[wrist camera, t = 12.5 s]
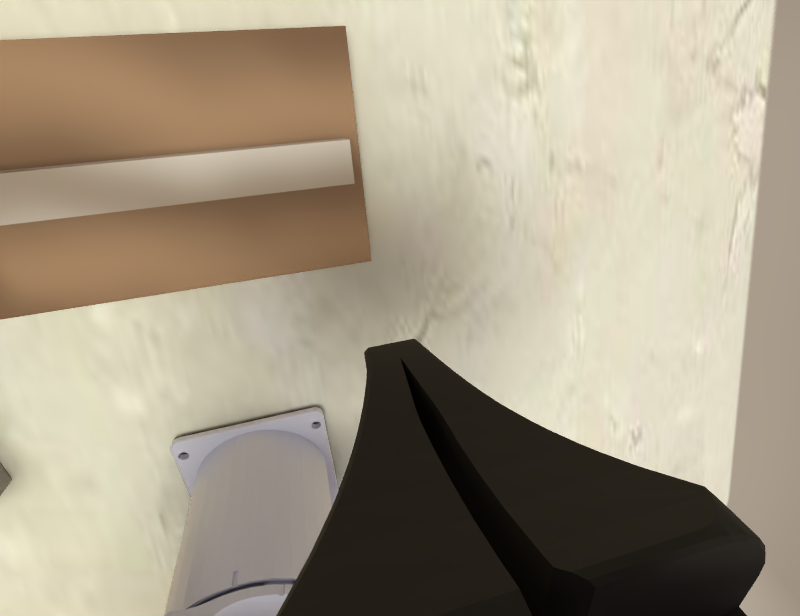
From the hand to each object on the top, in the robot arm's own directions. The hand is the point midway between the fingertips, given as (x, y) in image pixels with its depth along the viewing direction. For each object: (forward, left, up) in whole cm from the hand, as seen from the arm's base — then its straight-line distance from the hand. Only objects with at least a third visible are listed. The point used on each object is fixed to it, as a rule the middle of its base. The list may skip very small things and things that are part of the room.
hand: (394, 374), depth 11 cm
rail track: (+4, +11, -11) cm, 16 cm away
